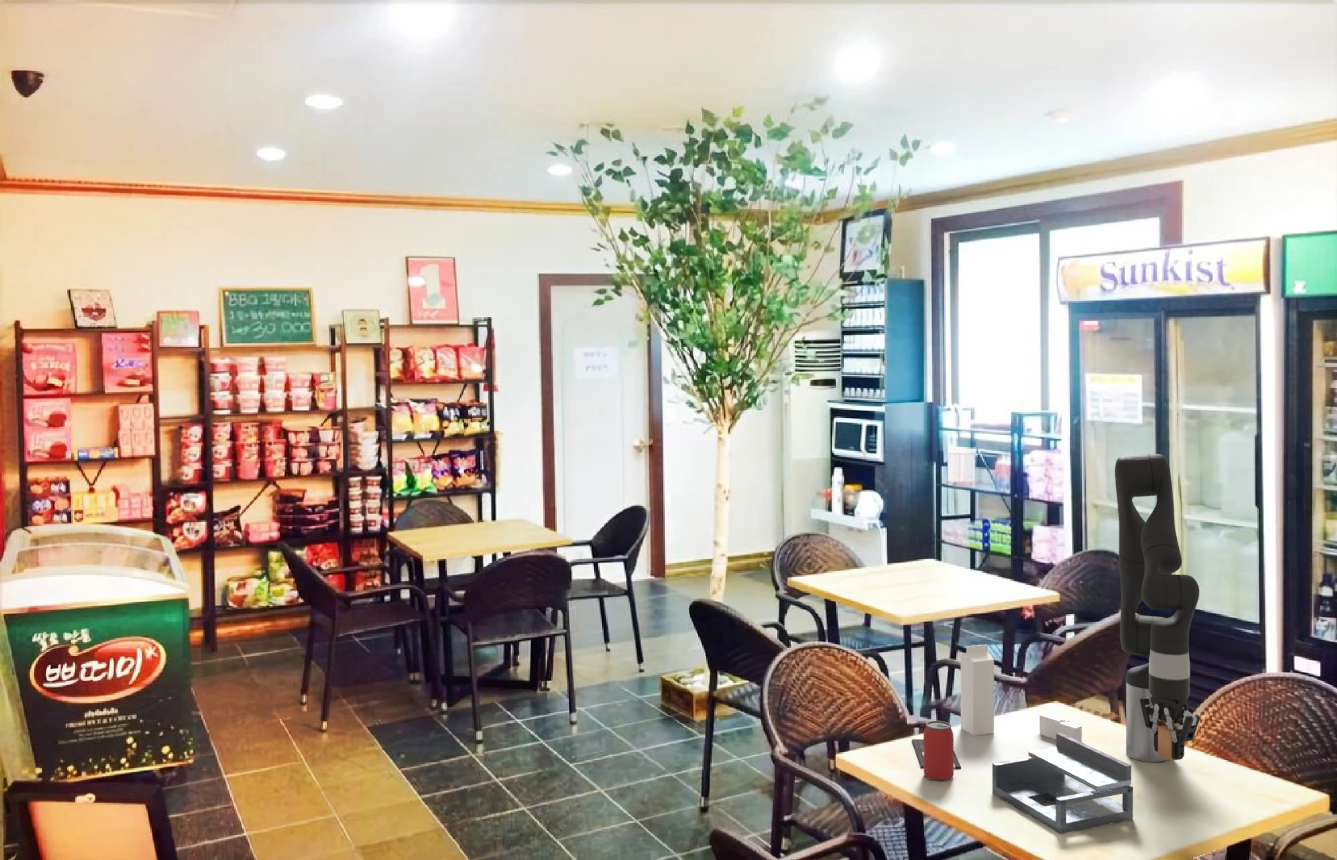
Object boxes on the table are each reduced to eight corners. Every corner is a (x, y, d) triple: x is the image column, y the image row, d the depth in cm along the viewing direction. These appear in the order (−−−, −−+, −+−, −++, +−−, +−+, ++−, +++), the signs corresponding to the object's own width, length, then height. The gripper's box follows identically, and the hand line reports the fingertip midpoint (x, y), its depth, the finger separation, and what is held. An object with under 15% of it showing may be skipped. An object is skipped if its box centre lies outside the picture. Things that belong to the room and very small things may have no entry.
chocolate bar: (949, 739, 273) (960, 766, 256) (949, 743, 274) (960, 770, 256) (912, 739, 274) (921, 766, 257) (912, 743, 274) (921, 770, 257)
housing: (1060, 781, 247) (1060, 751, 246) (1132, 819, 226) (1133, 787, 226) (992, 794, 241) (992, 763, 240) (1060, 834, 220) (1060, 800, 220)
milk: (994, 733, 279) (994, 647, 277) (972, 736, 277) (973, 649, 276) (981, 726, 285) (981, 641, 283) (960, 728, 283) (960, 643, 281)
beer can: (954, 782, 247) (954, 730, 247) (924, 781, 249) (923, 728, 248) (952, 772, 254) (952, 720, 253) (923, 770, 255) (923, 719, 254)
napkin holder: (1029, 732, 281) (1029, 710, 280) (1075, 732, 280) (1075, 710, 279) (1043, 753, 266) (1043, 729, 265) (1092, 754, 265) (1092, 730, 264)
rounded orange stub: (1168, 751, 227) (1169, 723, 227) (1184, 758, 223) (1184, 729, 223) (1153, 754, 226) (1153, 726, 225) (1168, 761, 222) (1168, 732, 222)
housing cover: (1060, 750, 246) (1060, 732, 246) (1131, 784, 226) (1131, 765, 226) (1028, 756, 243) (1028, 738, 243) (1097, 791, 223) (1097, 771, 223)
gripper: (1212, 679, 218) (1211, 764, 219) (1157, 661, 231) (1156, 741, 233) (1182, 684, 215) (1181, 770, 217) (1128, 665, 229) (1128, 746, 230)
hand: (1168, 754), depth 225 cm, fingers closed on rounded orange stub, 4 cm apart
